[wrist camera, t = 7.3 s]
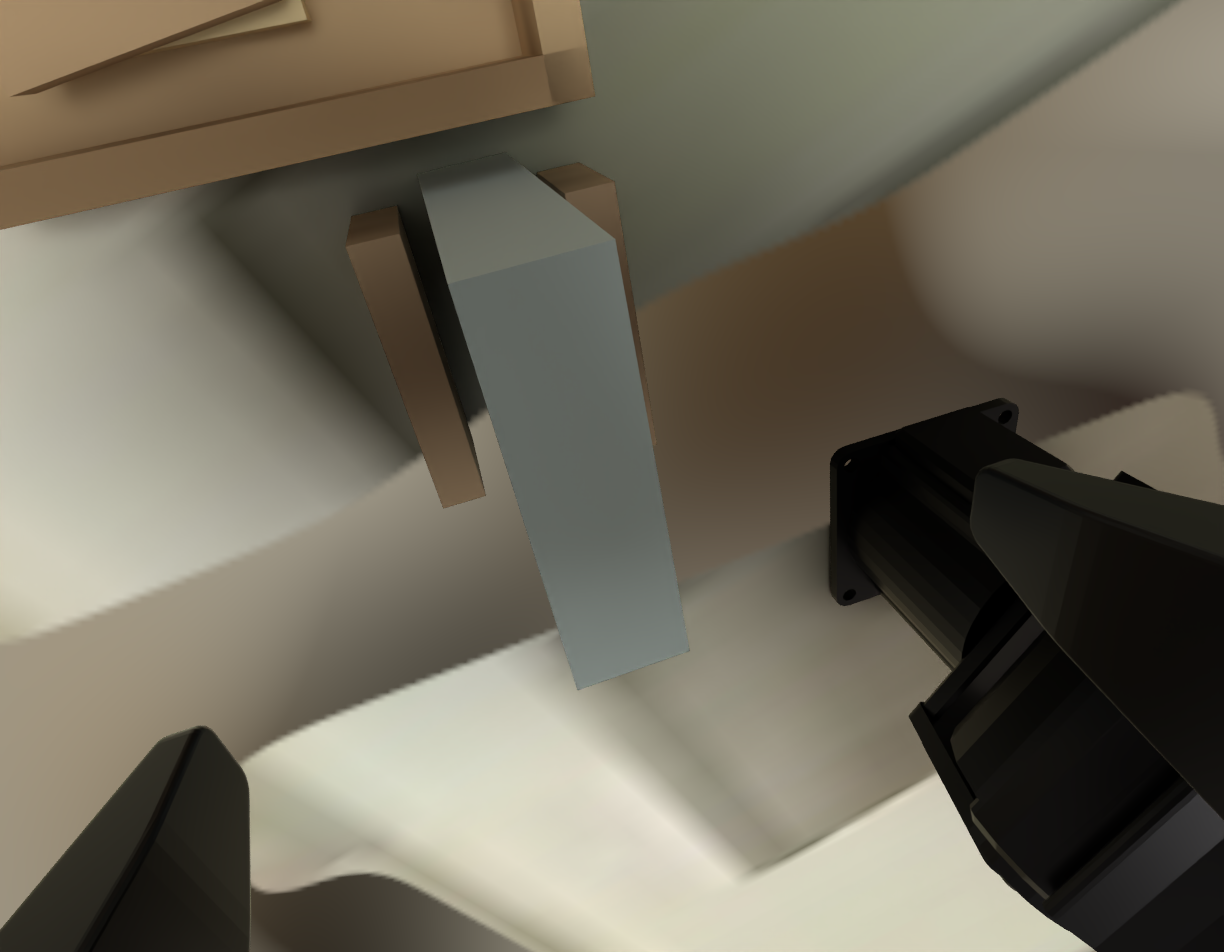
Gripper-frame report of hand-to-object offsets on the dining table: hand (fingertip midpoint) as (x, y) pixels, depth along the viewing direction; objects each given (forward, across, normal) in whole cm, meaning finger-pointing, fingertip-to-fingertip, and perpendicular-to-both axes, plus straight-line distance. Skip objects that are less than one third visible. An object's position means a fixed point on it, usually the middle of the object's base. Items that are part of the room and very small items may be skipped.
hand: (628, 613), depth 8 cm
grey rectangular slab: (+11, 0, 0) cm, 11 cm away
